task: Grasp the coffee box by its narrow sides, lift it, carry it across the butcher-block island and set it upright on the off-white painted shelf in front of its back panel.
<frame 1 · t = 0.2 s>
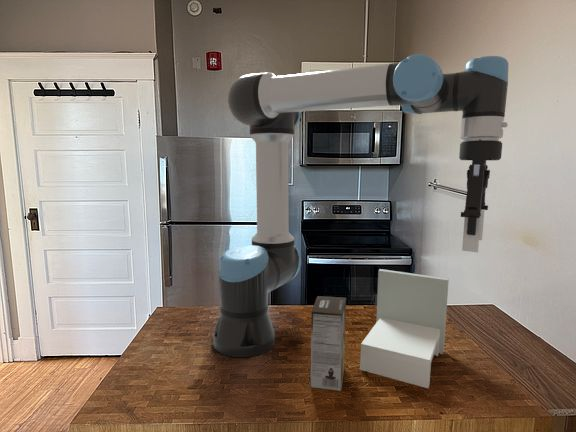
hand: (472, 244, 77), 28 cm above the table, fingers open, 13 cm apart
shelf: (400, 361, 84), on the table
coffee box: (327, 378, 78), on the table
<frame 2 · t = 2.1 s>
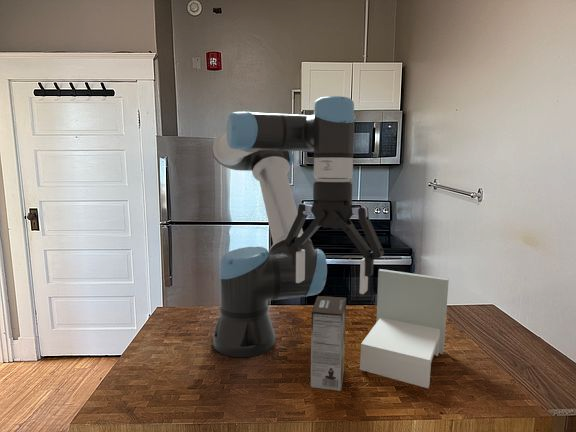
hand: (330, 286, 75), 20 cm above the table, fingers open, 13 cm apart
nothing on the table moved.
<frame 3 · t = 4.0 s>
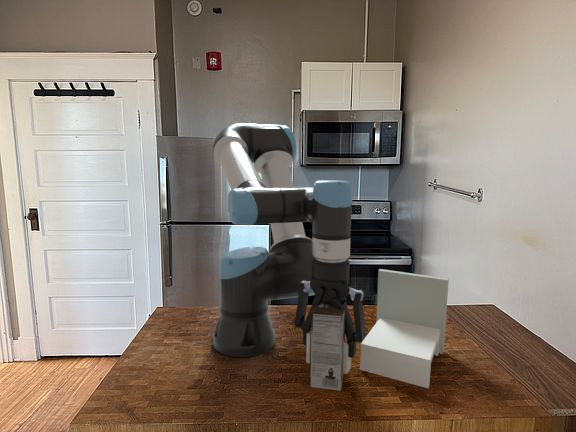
hand: (328, 365, 78), 3 cm above the table, fingers closed on coffee box, 7 cm apart
coffee box: (328, 378, 78), on the table, touching gripper
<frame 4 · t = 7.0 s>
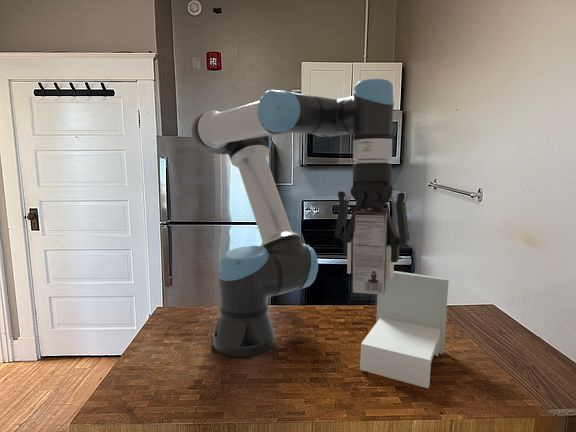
hand: (369, 274, 77), 22 cm above the table, fingers closed on coffee box, 7 cm apart
coffee box: (369, 288, 77), point 19 cm above the table, touching gripper
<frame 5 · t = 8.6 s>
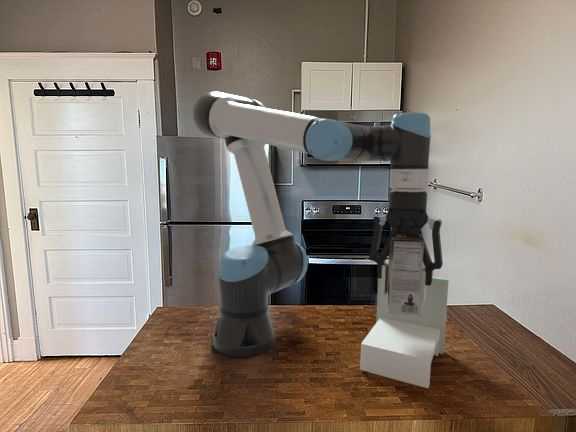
hand: (403, 296, 80), 16 cm above the table, fingers closed on coffee box, 7 cm apart
coffee box: (402, 308, 81), point 13 cm above the table, touching gripper
when the fingers open (10 cm above the table, at t = 10.0 s): coffee box drops 1 cm, resting on shelf.
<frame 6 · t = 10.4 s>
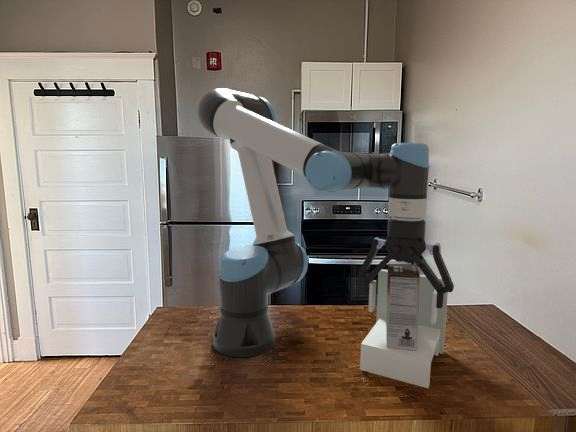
hand: (401, 315, 81), 12 cm above the table, fingers open, 12 cm apart
coffee box: (400, 340, 82), point 6 cm above the table, touching shelf
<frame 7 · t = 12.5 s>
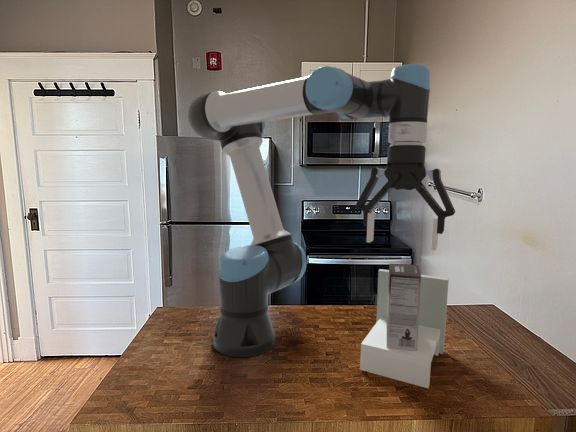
hand: (400, 245, 80), 27 cm above the table, fingers open, 13 cm apart
nothing on the table moved.
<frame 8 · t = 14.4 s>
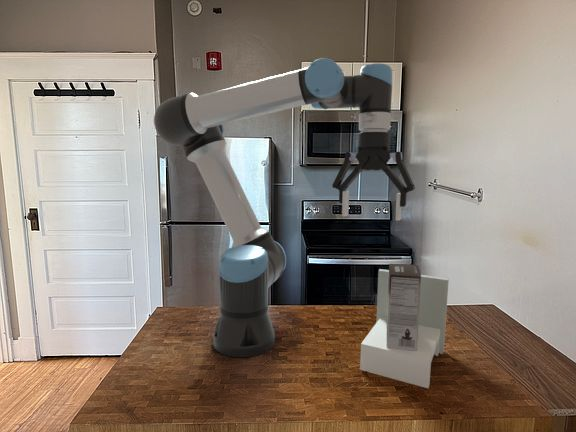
hand: (370, 218, 94), 31 cm above the table, fingers open, 13 cm apart
nothing on the table moved.
at the end: coffee box inside the target area on the shelf (1.1 cm from its centre), point 5.8 cm above the shelf's base; coffee box tilted 0°; the gripper is holding nothing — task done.
